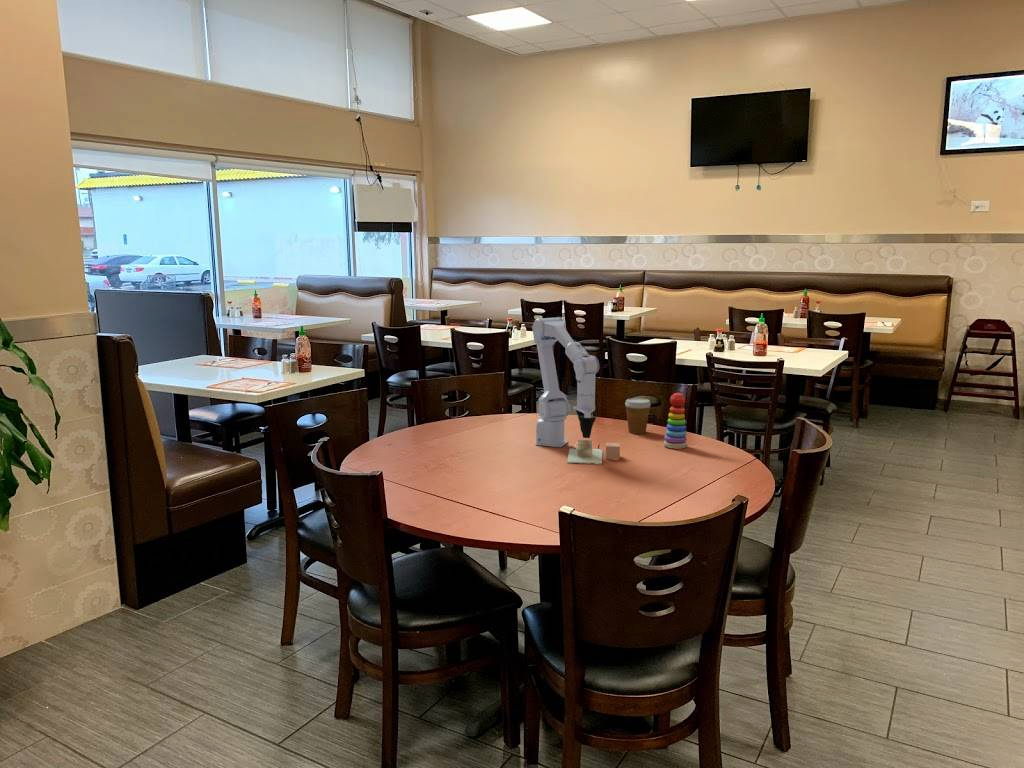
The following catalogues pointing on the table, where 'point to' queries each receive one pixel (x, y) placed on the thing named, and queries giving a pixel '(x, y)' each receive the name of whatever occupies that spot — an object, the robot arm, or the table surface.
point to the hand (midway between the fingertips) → (585, 434)
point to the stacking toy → (676, 424)
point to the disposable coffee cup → (637, 414)
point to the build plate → (594, 459)
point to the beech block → (584, 448)
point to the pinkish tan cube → (612, 450)
